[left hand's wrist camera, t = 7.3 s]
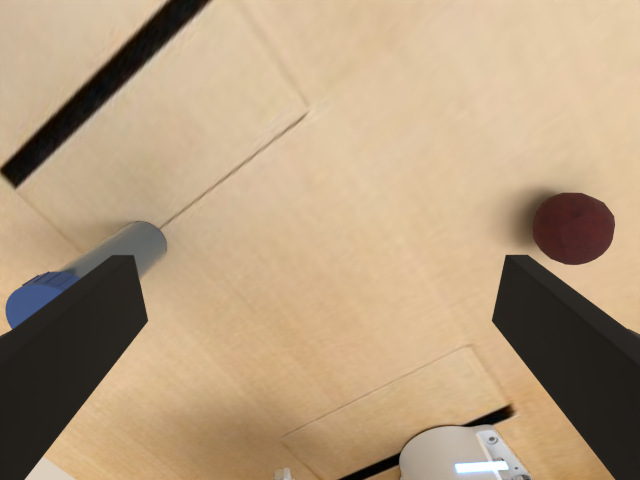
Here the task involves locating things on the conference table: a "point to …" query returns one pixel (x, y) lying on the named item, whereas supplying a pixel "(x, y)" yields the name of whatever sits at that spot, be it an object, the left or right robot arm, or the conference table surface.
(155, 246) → the jar
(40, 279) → the lid
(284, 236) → the conference table surface
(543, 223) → the dark red plum
